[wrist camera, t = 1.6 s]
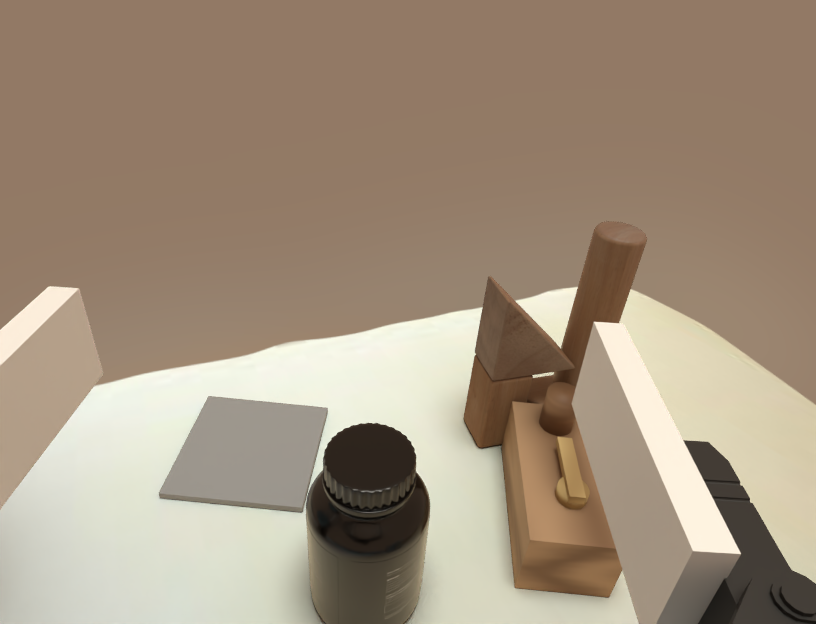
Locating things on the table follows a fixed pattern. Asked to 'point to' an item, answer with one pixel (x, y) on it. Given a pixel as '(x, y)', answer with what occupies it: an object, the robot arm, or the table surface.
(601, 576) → the plane block
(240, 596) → the table surface
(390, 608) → the supplement bottle
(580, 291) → the wooden block
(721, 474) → the robot arm
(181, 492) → the felt pad
